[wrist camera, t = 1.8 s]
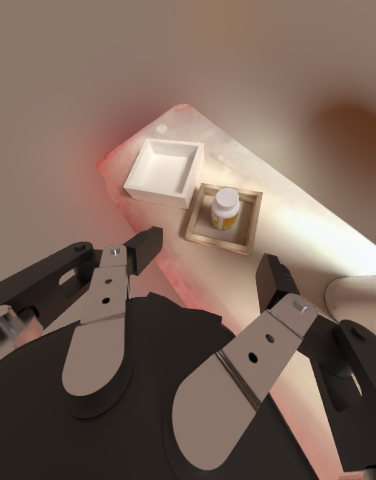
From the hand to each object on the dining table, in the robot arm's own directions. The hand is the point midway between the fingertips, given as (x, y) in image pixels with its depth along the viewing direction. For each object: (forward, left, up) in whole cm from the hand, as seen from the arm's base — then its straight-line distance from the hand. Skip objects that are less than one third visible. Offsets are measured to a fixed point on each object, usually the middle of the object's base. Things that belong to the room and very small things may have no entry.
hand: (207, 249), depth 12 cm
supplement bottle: (0, -13, -22) cm, 25 cm away
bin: (+17, -22, -21) cm, 35 cm away
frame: (0, -13, -21) cm, 25 cm away
